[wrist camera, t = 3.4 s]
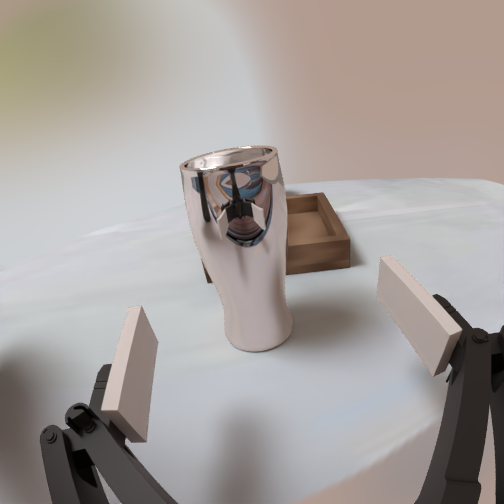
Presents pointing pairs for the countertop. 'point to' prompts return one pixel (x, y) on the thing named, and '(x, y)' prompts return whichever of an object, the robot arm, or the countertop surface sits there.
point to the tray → (313, 236)
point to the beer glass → (242, 239)
